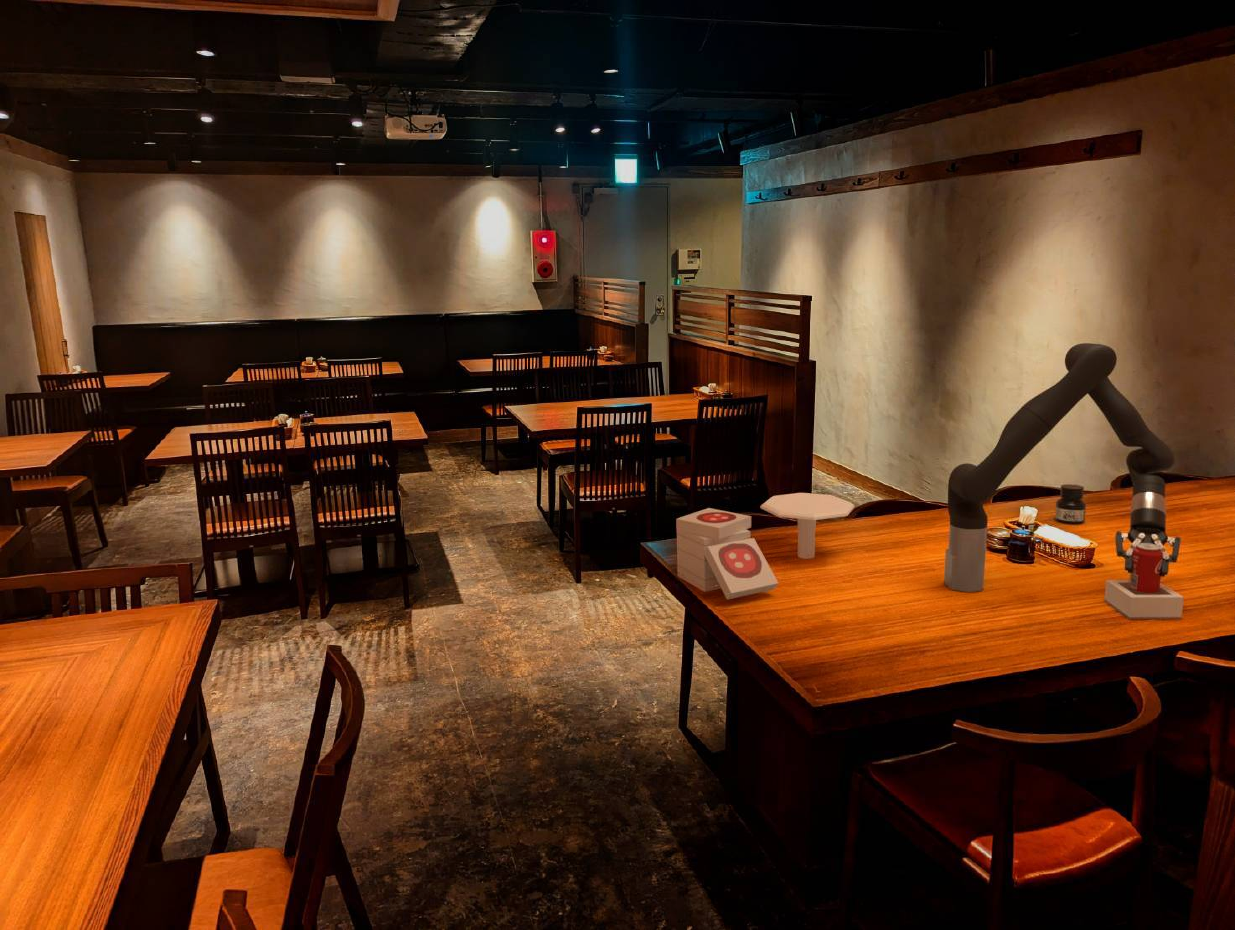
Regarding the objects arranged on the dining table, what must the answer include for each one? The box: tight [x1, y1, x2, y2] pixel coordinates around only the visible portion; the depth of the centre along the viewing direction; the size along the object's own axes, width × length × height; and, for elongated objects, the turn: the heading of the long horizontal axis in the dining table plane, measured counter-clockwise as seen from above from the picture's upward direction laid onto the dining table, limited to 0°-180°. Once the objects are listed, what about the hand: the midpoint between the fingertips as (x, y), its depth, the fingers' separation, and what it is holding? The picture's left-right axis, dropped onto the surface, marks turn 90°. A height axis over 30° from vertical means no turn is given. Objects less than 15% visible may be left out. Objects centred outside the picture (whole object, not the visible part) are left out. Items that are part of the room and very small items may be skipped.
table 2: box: [760, 492, 855, 560], centre depth 255 cm, size 28×28×17 cm
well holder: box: [1104, 579, 1185, 620], centre depth 208 cm, size 12×12×6 cm
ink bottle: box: [1054, 483, 1087, 525], centre depth 283 cm, size 10×9×12 cm
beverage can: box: [1129, 543, 1163, 595], centre depth 207 cm, size 6×6×12 cm
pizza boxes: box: [675, 507, 779, 601], centre depth 233 cm, size 19×30×18 cm, turn 26°
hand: (1146, 573), depth 205 cm, fingers closed on beverage can, 6 cm apart
